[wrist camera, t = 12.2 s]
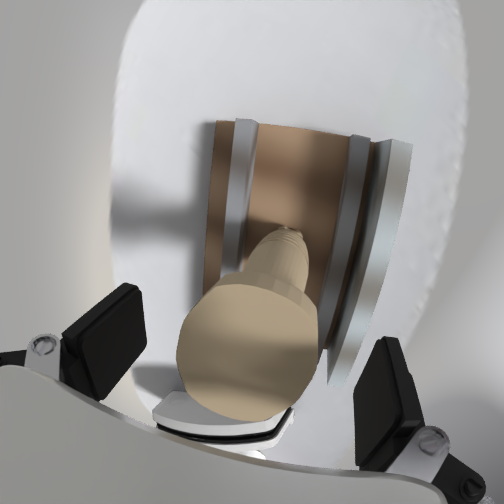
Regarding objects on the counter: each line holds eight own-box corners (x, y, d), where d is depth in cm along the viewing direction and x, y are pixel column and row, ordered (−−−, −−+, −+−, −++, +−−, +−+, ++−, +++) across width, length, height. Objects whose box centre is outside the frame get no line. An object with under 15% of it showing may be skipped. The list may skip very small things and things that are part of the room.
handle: (247, 268, 25) (168, 392, 11) (270, 197, 22) (195, 262, 8) (300, 287, 24) (274, 433, 10) (328, 218, 22) (347, 318, 8)
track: (222, 122, 23) (191, 112, 17) (387, 147, 20) (412, 144, 14) (206, 315, 29) (181, 353, 23) (340, 342, 27) (343, 387, 21)
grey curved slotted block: (183, 413, 36) (146, 447, 27) (176, 386, 37) (135, 415, 27) (297, 417, 32) (283, 464, 22) (293, 386, 32) (277, 429, 22)
